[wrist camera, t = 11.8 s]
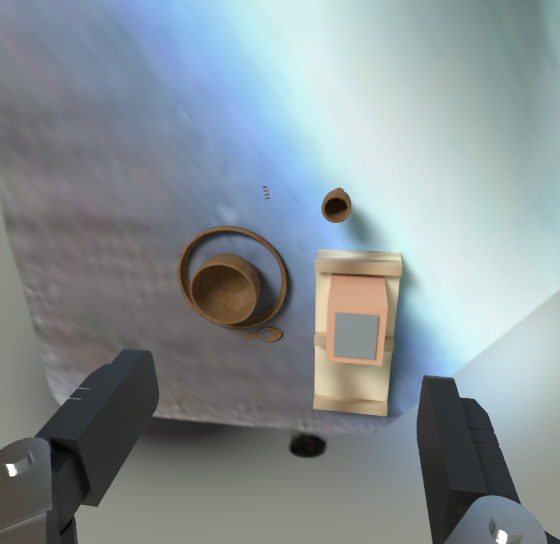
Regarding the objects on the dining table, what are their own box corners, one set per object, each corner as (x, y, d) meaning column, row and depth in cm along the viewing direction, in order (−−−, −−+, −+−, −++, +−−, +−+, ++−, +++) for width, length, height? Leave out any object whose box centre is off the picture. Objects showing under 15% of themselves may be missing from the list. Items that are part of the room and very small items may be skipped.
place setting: (159, 204, 45) (132, 223, 39) (350, 167, 40) (349, 183, 34) (208, 343, 51) (190, 375, 46) (376, 327, 46) (378, 360, 41)
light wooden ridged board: (400, 252, 42) (402, 266, 39) (385, 396, 49) (386, 416, 46) (318, 249, 43) (315, 262, 40) (316, 389, 51) (313, 408, 48)
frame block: (384, 276, 41) (387, 309, 35) (379, 329, 43) (382, 367, 38) (331, 273, 42) (327, 305, 36) (330, 325, 44) (325, 362, 39)
